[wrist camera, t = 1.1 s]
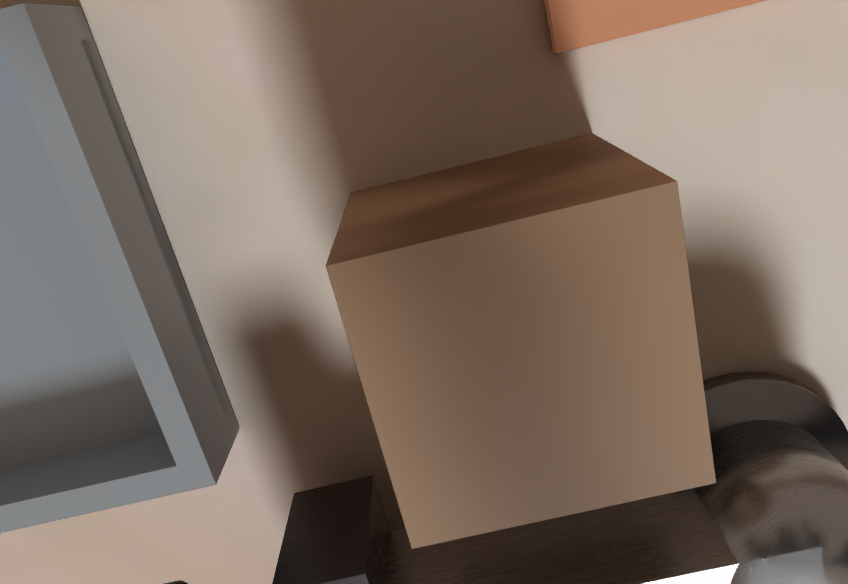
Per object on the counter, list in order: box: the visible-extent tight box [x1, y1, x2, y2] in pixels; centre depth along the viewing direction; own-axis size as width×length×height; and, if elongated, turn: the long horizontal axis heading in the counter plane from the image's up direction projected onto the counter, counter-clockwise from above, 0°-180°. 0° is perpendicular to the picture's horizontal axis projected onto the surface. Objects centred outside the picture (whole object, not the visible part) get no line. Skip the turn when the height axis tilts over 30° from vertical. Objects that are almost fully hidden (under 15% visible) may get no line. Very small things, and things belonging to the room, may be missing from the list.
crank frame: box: [544, 0, 848, 470], centre depth 16 cm, size 5×14×1 cm, turn 14°
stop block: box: [326, 133, 716, 549], centre depth 13 cm, size 5×5×5 cm
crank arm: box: [272, 420, 848, 584], centre depth 15 cm, size 12×5×3 cm, turn 104°
